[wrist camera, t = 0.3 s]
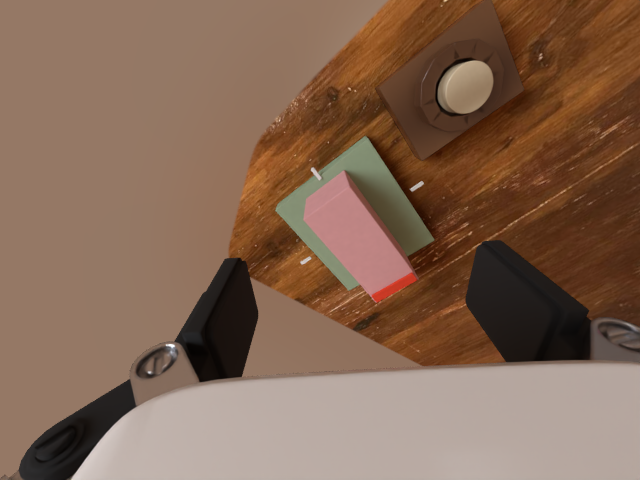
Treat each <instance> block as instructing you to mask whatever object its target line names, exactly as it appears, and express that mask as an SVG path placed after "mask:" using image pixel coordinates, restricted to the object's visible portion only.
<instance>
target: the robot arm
mask: <svg viewBox="0 0 640 480" xmlns="http://www.w3.org/2000/svg"><path fill="white" fill-rule="evenodd" d="M466 304H467V307H468V308H469V310H470V311H471V313H472V314H473V315H474V317H475V318H476V320H477V321H478V322H479V324H480V325H481V327H482V328H483V330H484V331H485V332H486V334H487V335H488V337H489V338H490V340H491V341H492V342H493V344H494V345H495V347H496V348H497V349H498V351H499V352H500V354H501V355H502V357H503V358H504V359H505V361H506V362H507V363H485V364H463V365H442V366H422V367H403V368H386V369H385V368H383V369H364V370H348V371H329V372H311V373H295V374H294V373H293V374H277V375H263V376H251V377H242V374H243V370H244V367H245V363H246V360H247V356H248V353H249V349H250V345H251V342H252V338H253V335H254V331H255V327H256V324H257V320H258V309H257V305H256V301H255V297H254V292H253V288H252V284H251V280H250V276H249V272H248V268H247V264H246V261H242V260H241V258H227V259H225V260H224V262H223V263H222V265H221V267H220V269H219V270H218V272H217V274H216V275H215V277H214V279H213V280H212V282H211V284H210V286H209V287H208V289H207V291H206V292H204V293H203V294H202V296H201V297H200V299H199V301H198V302H197V304H196V306H195V308H194V309H193V311H192V313H191V314H190V316H189V318H188V319H187V321H186V323H185V324H184V326H183V328H182V329H181V331H180V333H179V335H178V336H177V338H176V340H175V341H174V342H164V343H160V344H158V345H155V346H153V347H151V348H149V349H148V350H146V351H145V352H143V353H142V354H141V355H140V356H139V357H138V358H137V359H136V360H135V362H134V363H133V364H132V367H131V369H130V379H129V380H127V381H126V382H124V383H123V384H121V385H120V386H118V387H116V388H114V389H113V390H111V391H109V392H108V393H106V394H105V395H103V396H101V397H100V398H98V399H96V400H95V401H93V402H91V403H90V404H88V405H87V406H85V407H83V408H82V409H80V410H78V411H77V412H75V413H74V414H72V415H70V416H69V417H67V418H66V419H64V420H62V421H60V422H59V423H57V424H56V425H54V426H53V427H52V428H50V429H48V430H47V431H46V432H44V434H42V435H41V436H40V437H39V438H38V439H37V440H36V441H35V442H34V443H33V444H32V445H31V447H30V448H29V449H28V450H27V452H26V453H25V455H24V457H23V459H22V460H21V464H20V467H19V470H18V471H17V472H16V473H14V474H13V475H12V476H11V477H10V478H9V477H8V476H6V475H4V476H3V477H1V478H0V480H640V327H639V326H637V325H635V324H632V323H630V322H627V321H624V320H620V319H616V318H609V317H600V318H596V319H594V320H592V321H591V320H590V319H588V318H587V317H586V316H587V314H588V312H589V310H588V309H587V308H586V307H584V306H583V305H582V304H580V303H579V302H578V301H577V300H575V299H574V298H573V297H572V296H570V295H569V294H568V293H567V292H565V291H564V290H563V289H562V288H560V287H559V286H558V285H557V284H555V283H554V282H553V281H551V280H550V279H549V278H548V277H546V276H545V275H544V274H543V273H541V272H540V271H539V270H538V269H536V268H535V267H534V266H533V265H531V264H530V263H529V262H527V261H526V260H525V259H524V258H522V257H521V256H520V255H519V254H517V253H516V252H515V251H514V250H512V249H511V248H510V247H509V246H507V245H506V244H505V243H504V242H502V241H500V240H495V241H484V242H482V244H481V245H479V246H478V247H477V249H476V254H475V258H474V263H473V267H472V272H471V276H470V281H469V285H468V290H467V294H466Z"/></svg>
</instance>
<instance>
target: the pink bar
mask: <svg viewBox="0 0 640 480" xmlns="http://www.w3.org/2000/svg"><path fill="white" fill-rule="evenodd" d="M303 220H304V221H305V222H306V224H307V225H308V226H309V227H310V228H311V229H312V230H313V231H314V233H315V234H316V235H317V236H318V237H319V238H320V239H321V241H322V242H323V243H324V244H325V245H326V246H327V247H328V248H329V250H330V251H331V252H332V253H333V254H334V255H335V256H336V258H337V259H338V260H339V261H340V262H341V263H342V264H343V266H344V267H345V268H346V269H347V270H348V271H349V272H350V273H351V275H352V276H353V277H354V278H355V279H356V280H357V281H358V283H359V284H360V285H361V286H362V287H363V288H364V289H365V291H366V292H367V293H368V294H369V295H370V296H371V297H372V298H373V300H374V301H375V302H379V301H380V300H382V299H384V298H386V297H388V296H389V295H391V294H393V293H395V292H397V291H399V290H400V289H402V288H404V287H406V286H408V285H409V284H411V283H413V282H415V281H417V280H418V276H417V275H416V273H415V271H414V269H413V267H412V265H411V263H410V261H409V260H408V258H407V256H406V254H405V252H404V250H403V249H402V248H401V246H400V245H399V243H398V242H397V241H396V239H395V238H394V237H393V235H392V234H391V233H390V231H389V230H388V228H387V227H386V226H385V224H384V223H383V222H382V220H381V219H380V218H379V216H378V215H377V213H376V212H375V211H374V209H373V208H372V207H371V205H370V204H369V202H368V201H367V200H366V198H365V197H364V196H363V194H362V193H361V192H360V190H359V189H358V187H357V186H356V185H355V183H354V182H353V181H352V179H351V178H350V176H349V175H348V174H347V172H346V171H345V170H344V171H342V172H341V173H340V174H338V175H337V176H336V177H334V178H333V179H332V180H330V181H329V182H328V183H326V184H325V185H324V186H322V187H321V188H320V189H318V190H317V191H316V192H314V193H313V194H312V195H310V196H309V197H308V198H306V204H305V212H304V219H303Z"/></svg>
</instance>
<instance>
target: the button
mask: <svg viewBox="0 0 640 480" xmlns="http://www.w3.org/2000/svg"><path fill="white" fill-rule="evenodd" d="M492 88H493V74H492V71H491V69H490V68H489V66H488V65H487V64H485V63H484V62H481V61H469V62H464V63H460V64H457V65H455V66H453V67H451V68H450V69H449V70H448V71H447V72H446V73H445V74H444V76H443V77H442V79H441V81H440V83H439V86H438V101H439V103H440V105H441V106H442V108H443V109H445V110H446V111H448V112H452V113H459V114H467V113H471V112H473V111H475V110H477V109H478V108H480V107H481V106H482V105H483V104H484V103H485V102H486V100H487V99H488V97H489V96H490V93H491V91H492Z"/></svg>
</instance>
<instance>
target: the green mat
mask: <svg viewBox="0 0 640 480" xmlns="http://www.w3.org/2000/svg"><path fill="white" fill-rule="evenodd" d="M344 170H345V171H346V172H347V174H348V175H349V176H350V178H351V179H352V181H353V182H354V183H355V185H356V186H357V187H358V189H359V190H360V192H361V193H362V194H363V196H364V197H365V198H366V200H367V201H368V202H369V204H370V205H371V207H372V208H373V209H374V211H375V212H376V213H377V215H378V216H379V218H380V219H381V220H382V222H383V223H384V224H385V226H386V227H387V228H388V230H389V231H390V233H391V234H392V235H393V237H394V238H395V239H396V241H397V242H398V243H399V245H400V246H401V248H402V249H403V250H404V252H405V254H406V256H409V255H411V254H412V253H414V252H416V251H418V250H419V249H421V248H423V247H424V246H426V245H428V244H429V243H431V242H433V241H434V238H433V237H432V235H431V234H430V232H429V231H428V229H427V227H426V226H425V224H424V223H423V221H422V220H421V218H420V217H419V215H418V214H417V212H416V211H415V209H414V208H413V206H412V205H411V203H410V201H409V200H408V198H407V197H406V195H405V194H404V192H403V191H402V189H401V188H400V186H399V185H398V183H397V182H396V180H395V179H394V177H393V175H392V174H391V172H390V171H389V169H388V168H387V166H386V165H385V163H384V162H383V160H382V159H381V157H380V156H379V154H378V153H377V151H376V149H375V148H374V146H373V145H372V143H371V142H370V140H369V139H368V138H367V137H366V136H364V137H363V138H362V139H361V140H359V141H358V142H357V143H355V144H354V145H353V146H352V147H350V148H349V149H348V150H346V151H345V152H344V153H343V154H341V155H340V156H339V157H337V158H336V159H335V160H334V161H332V162H331V163H330V164H328V165H327V166H326V167H325V168H323V169H322V170H321V171H319V172H317V171H316V170H315V169H314V167H313V168H312V169H311V171H312V172H313V173H314V176H313V177H312V178H310V179H309V180H308V181H307V182H305V183H304V184H303V185H301V186H300V187H299V188H298V189H296V190H295V191H294V192H292V193H291V194H290V195H289V196H287V197H286V198H285V199H283V200H282V201H281V202H280V203H278V205H277V207H276V212H277V213H278V214H279V215H280V216H281V217H282V218H283V219H284V220H285V221H286V223H287V224H288V225H289V226H290V227H291V228H292V229H293V230H294V231H295V232H296V233H297V235H298V236H299V237H300V238H301V239H302V240H303V241H304V242H305V243H306V244H307V245H308V246H309V248H310V249H311V250H312V251H313V252H314V253H315V254H316V255H317V256H318V257H319V258H320V260H321V261H322V262H323V263H324V264H325V265H326V266H327V267H328V268H329V269H330V270H331V272H332V273H333V274H334V275H335V276H336V277H337V278H338V279H339V280H340V281H341V282H342V284H343V285H344V286H345V287H346V288H347V289H348V290H349V291H350V290H351V289H353V288H355V287H356V286H358V285H360V284H359V283H358V281H357V280H356V279H355V278H354V277H353V276H352V275H351V273H350V272H349V271H348V270H347V269H346V268H345V267H344V266H343V264H342V263H341V262H340V261H339V260H338V259H337V258H336V256H335V255H334V254H333V253H332V252H331V251H330V250H329V248H328V247H327V246H326V245H325V244H324V243H323V242H322V241H321V239H320V238H319V237H318V236H317V235H316V234H315V233H314V231H313V230H312V229H311V228H310V227H309V226H308V225H307V224H306V222H305V221H304V220H303V219H304V212H305V204H306V198H308V197H309V196H310V195H312V194H313V193H314V192H316V191H317V190H318V189H320V188H321V187H322V186H324V185H325V184H326V183H328V182H329V181H330V180H332V179H333V178H334V177H336V176H337V175H338V174H340V173H341V172H342V171H344ZM423 184H424V183H423V181H421V182H420V183H418V184H417V185H415V186H414V187H412V188H411V189H410V190H411V191H412V192H413V191H414V190H416V189H417V188H419V187H420V186H422V185H423ZM310 259H311V257H310V256H309V257H308V258H306V259H305V260H303V261H302V262H301V264H302V265H303V264H304V263H306V262H307V261H309V260H310Z"/></svg>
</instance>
